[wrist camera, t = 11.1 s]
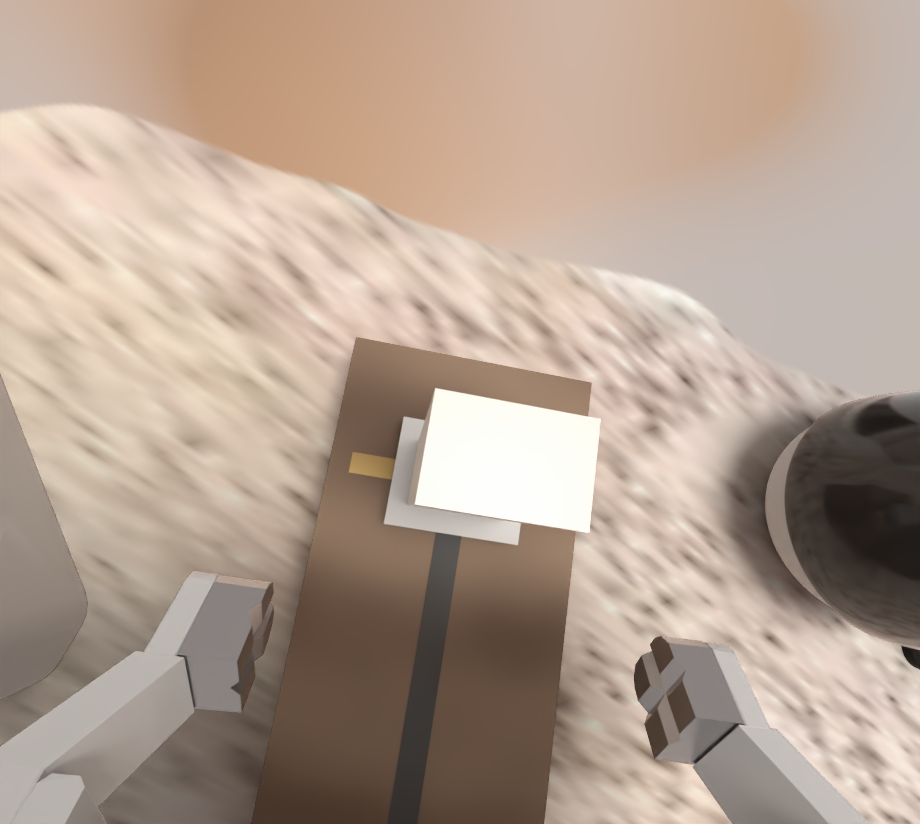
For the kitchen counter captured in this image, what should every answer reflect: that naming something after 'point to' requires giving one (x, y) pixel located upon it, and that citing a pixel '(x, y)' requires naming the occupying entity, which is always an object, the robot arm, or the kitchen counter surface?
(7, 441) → the grey box
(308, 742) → the board
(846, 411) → the pump dispenser
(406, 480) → the fader tab
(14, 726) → the kitchen counter surface
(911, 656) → the smartphone
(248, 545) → the kitchen counter surface
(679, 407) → the kitchen counter surface
